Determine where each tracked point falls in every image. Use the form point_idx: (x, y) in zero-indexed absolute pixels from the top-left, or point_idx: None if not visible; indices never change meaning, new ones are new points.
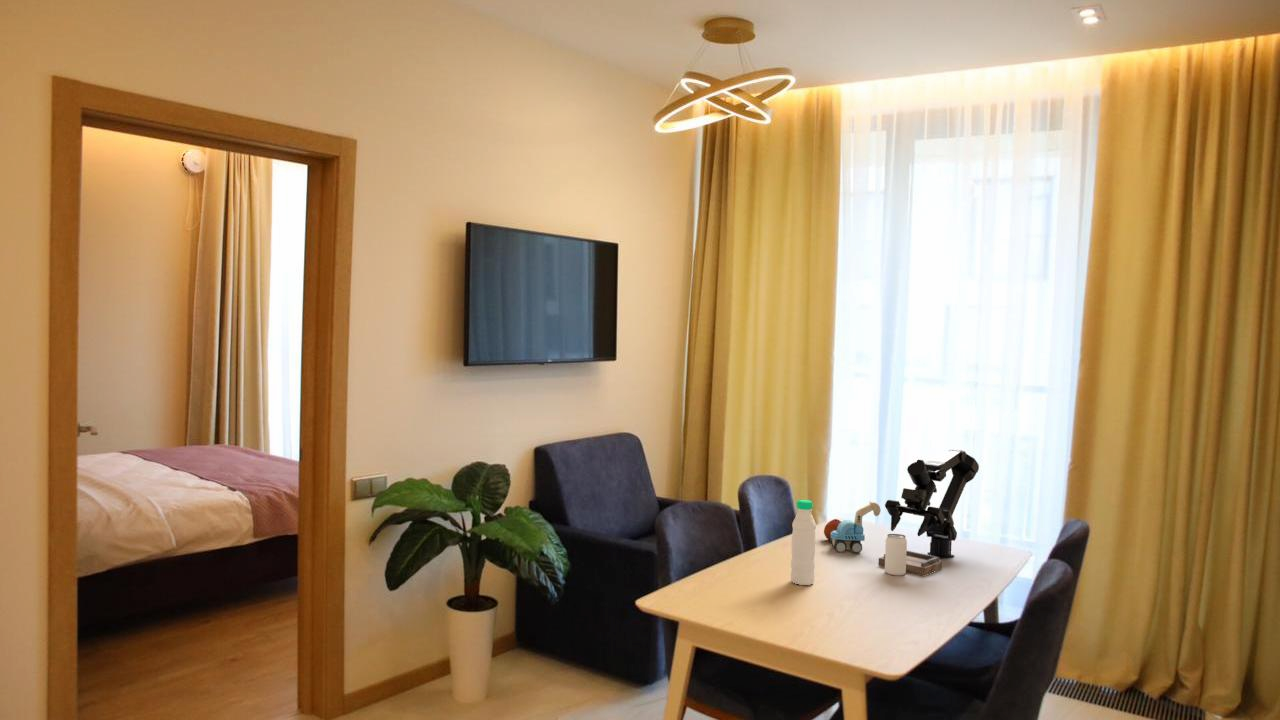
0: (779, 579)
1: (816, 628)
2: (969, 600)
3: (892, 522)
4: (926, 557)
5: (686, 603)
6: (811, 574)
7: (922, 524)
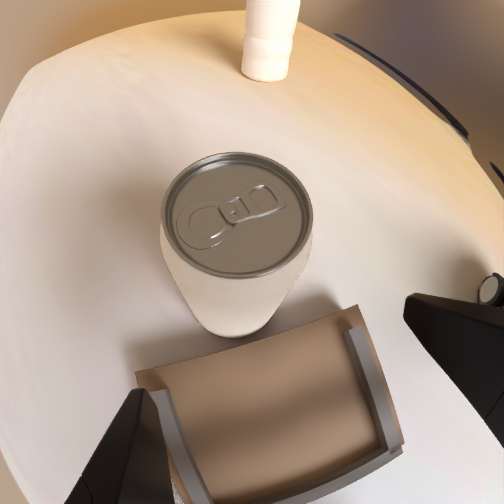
0: (297, 67)
1: (113, 43)
2: None
3: (465, 307)
4: (259, 502)
5: None
6: (243, 56)
7: (104, 486)
